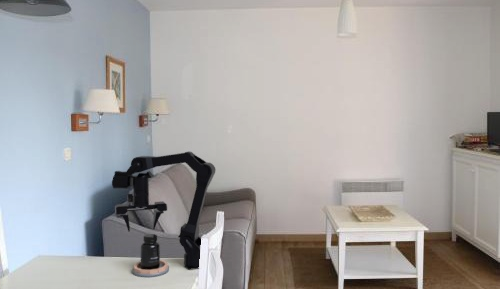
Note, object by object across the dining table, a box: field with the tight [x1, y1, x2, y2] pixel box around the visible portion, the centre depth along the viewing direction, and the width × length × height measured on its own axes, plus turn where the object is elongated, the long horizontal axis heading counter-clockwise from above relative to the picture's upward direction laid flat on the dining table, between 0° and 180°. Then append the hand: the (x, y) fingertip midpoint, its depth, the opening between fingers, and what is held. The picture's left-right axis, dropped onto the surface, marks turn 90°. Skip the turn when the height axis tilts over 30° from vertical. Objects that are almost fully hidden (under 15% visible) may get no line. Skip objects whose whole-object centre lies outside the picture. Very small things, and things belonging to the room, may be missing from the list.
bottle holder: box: [132, 259, 170, 278], centre depth 157 cm, size 13×13×2 cm
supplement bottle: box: [140, 233, 161, 270], centre depth 156 cm, size 7×7×12 cm
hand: (141, 230), depth 164 cm, fingers open, 9 cm apart
